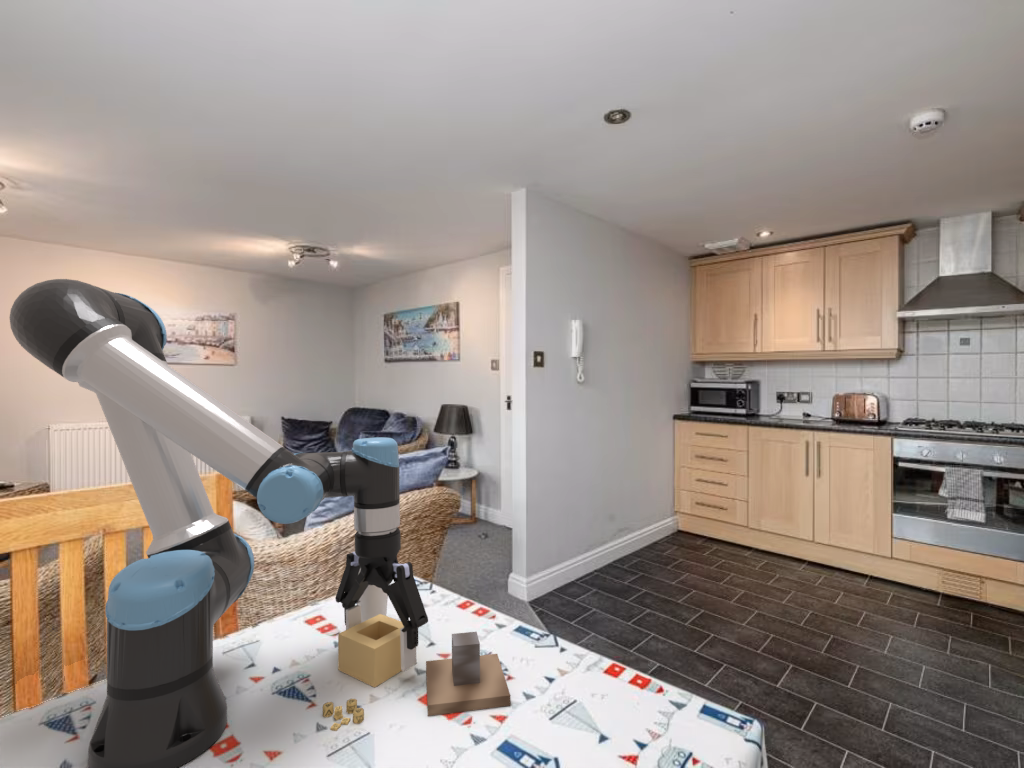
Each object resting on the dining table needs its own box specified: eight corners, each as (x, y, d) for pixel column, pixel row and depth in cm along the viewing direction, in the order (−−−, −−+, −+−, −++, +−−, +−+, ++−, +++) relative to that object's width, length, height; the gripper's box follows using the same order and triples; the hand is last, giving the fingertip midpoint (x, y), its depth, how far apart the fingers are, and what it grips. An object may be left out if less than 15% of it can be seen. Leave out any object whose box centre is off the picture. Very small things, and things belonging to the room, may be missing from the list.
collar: (374, 687, 79) (374, 649, 79) (338, 670, 84) (338, 633, 84) (415, 661, 86) (415, 626, 87) (380, 647, 91) (380, 613, 92)
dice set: (322, 717, 73) (322, 703, 73) (358, 706, 75) (358, 693, 75) (326, 738, 68) (326, 724, 68) (365, 726, 71) (364, 713, 71)
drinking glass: (351, 625, 100) (351, 549, 100) (385, 618, 103) (385, 544, 103) (357, 640, 94) (357, 559, 94) (393, 632, 97) (393, 554, 97)
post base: (427, 715, 72) (427, 663, 72) (426, 670, 84) (425, 624, 84) (510, 705, 74) (510, 654, 74) (497, 662, 86) (497, 618, 86)
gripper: (448, 534, 82) (450, 666, 81) (348, 515, 96) (350, 627, 95) (414, 546, 75) (417, 689, 75) (313, 524, 89) (315, 645, 89)
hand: (380, 655), depth 85 cm, fingers open, 13 cm apart
